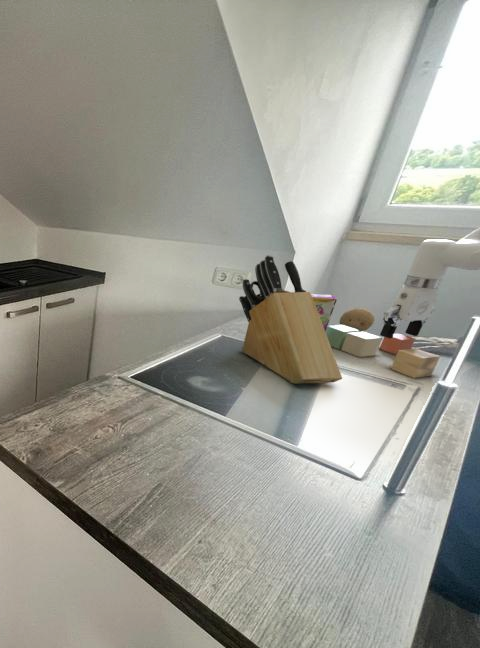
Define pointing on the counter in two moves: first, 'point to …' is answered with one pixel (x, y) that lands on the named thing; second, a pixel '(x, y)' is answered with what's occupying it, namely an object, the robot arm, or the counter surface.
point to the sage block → (338, 334)
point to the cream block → (361, 344)
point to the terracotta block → (397, 343)
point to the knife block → (286, 328)
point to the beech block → (415, 363)
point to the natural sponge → (357, 319)
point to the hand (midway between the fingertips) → (398, 335)
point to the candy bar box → (324, 307)
